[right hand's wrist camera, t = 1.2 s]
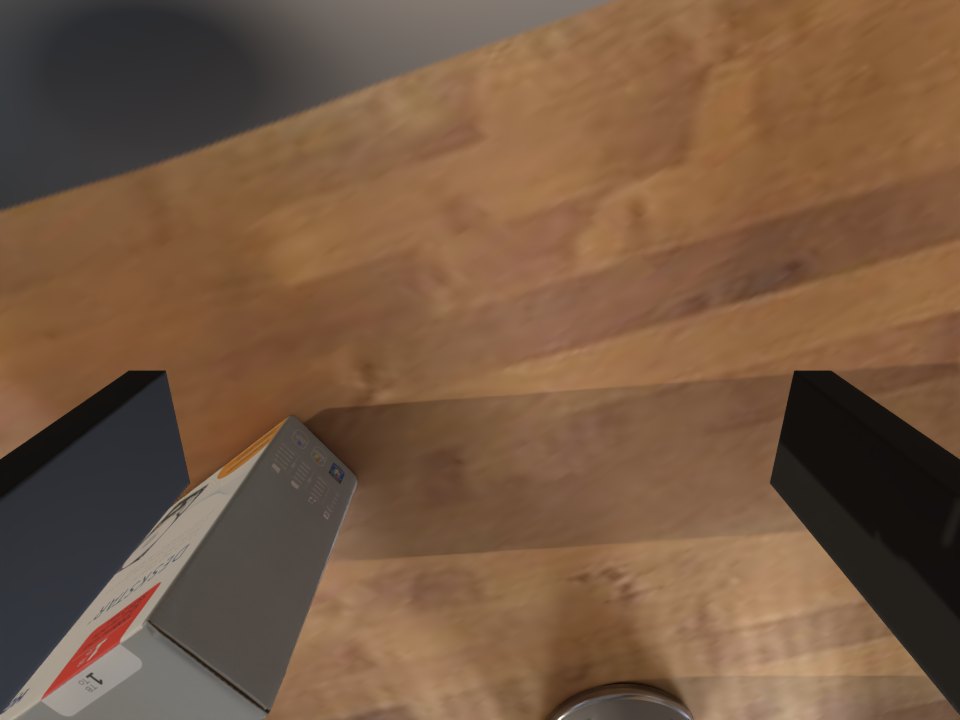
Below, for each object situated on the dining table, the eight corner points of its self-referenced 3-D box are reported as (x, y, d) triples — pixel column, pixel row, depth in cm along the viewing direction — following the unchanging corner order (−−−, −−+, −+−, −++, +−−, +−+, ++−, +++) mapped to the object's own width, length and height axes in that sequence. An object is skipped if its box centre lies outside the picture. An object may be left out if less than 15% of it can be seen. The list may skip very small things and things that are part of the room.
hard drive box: (292, 408, 43) (151, 618, 25) (362, 477, 45) (281, 718, 27) (154, 516, 47) (-59, 770, 28) (225, 575, 49) (71, 847, 30)
